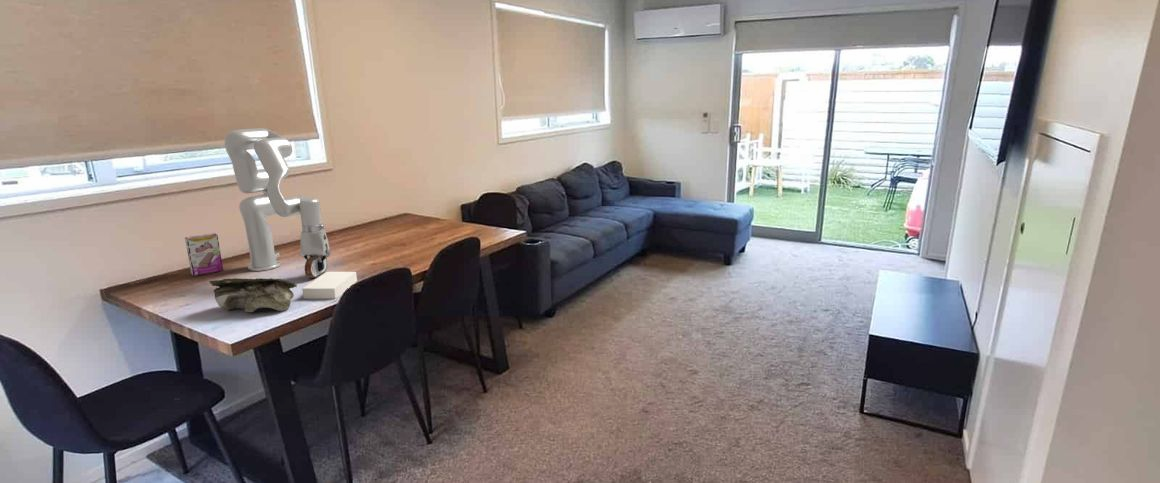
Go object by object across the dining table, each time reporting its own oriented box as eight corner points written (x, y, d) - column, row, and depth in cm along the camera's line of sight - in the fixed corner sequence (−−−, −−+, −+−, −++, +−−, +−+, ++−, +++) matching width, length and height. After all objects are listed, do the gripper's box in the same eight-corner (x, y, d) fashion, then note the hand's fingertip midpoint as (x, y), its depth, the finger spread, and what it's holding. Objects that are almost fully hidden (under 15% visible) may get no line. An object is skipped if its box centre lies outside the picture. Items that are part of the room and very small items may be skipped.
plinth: (327, 281, 225) (326, 271, 224) (357, 281, 225) (356, 271, 224) (303, 298, 206) (302, 288, 205) (335, 298, 206) (334, 288, 204)
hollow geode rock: (217, 322, 196) (190, 304, 184) (228, 290, 203) (203, 270, 190) (295, 319, 196) (274, 301, 183) (303, 287, 203) (284, 268, 190)
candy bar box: (193, 276, 231) (186, 239, 227) (191, 274, 234) (183, 236, 230) (224, 271, 238) (217, 234, 234) (221, 268, 242) (214, 232, 238)
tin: (323, 270, 239) (320, 251, 237) (330, 269, 239) (327, 251, 237) (305, 280, 225) (302, 260, 223) (313, 280, 225) (309, 260, 223)
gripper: (335, 226, 230) (340, 268, 235) (297, 225, 230) (302, 267, 235) (327, 230, 223) (332, 273, 228) (288, 229, 223) (293, 272, 228)
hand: (317, 270), depth 231 cm, fingers closed on tin, 2 cm apart
